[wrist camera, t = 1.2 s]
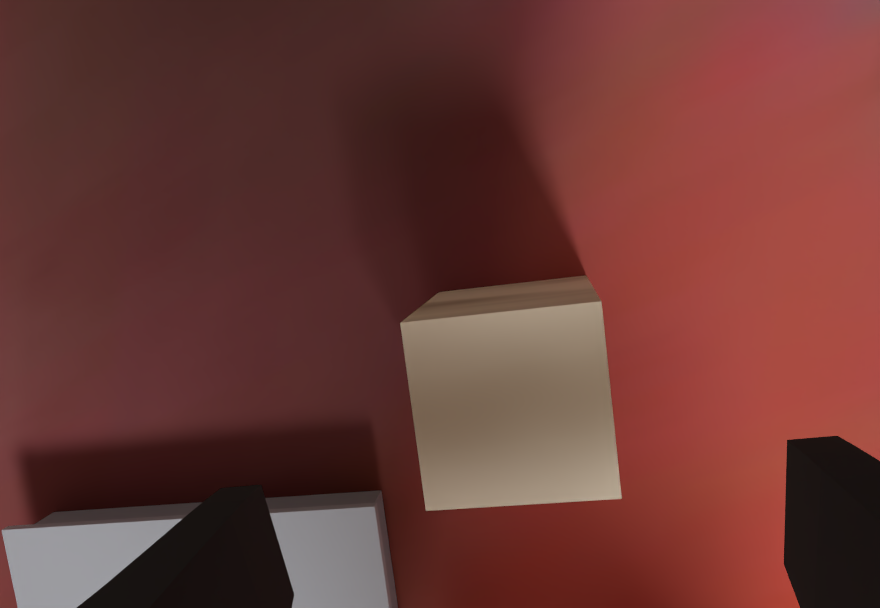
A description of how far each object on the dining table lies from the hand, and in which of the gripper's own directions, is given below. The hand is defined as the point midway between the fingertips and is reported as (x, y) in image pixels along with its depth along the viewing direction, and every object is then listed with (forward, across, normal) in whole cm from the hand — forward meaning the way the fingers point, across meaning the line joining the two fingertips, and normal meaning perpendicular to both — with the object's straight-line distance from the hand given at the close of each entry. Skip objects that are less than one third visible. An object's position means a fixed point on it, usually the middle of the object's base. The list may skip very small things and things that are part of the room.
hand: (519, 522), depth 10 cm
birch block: (+12, 0, +3) cm, 12 cm away
